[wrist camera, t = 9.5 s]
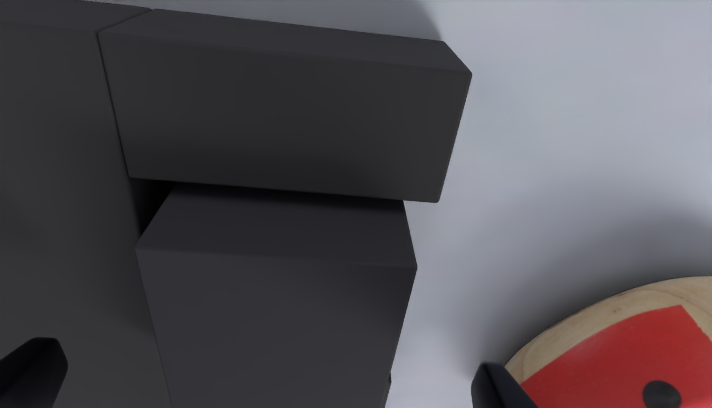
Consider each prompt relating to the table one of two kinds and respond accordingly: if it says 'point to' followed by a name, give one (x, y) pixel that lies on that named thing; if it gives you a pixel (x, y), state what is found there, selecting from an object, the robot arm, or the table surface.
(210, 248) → the black block
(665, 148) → the table surface
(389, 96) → the notched pad
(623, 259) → the table surface
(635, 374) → the ladybug figurine
